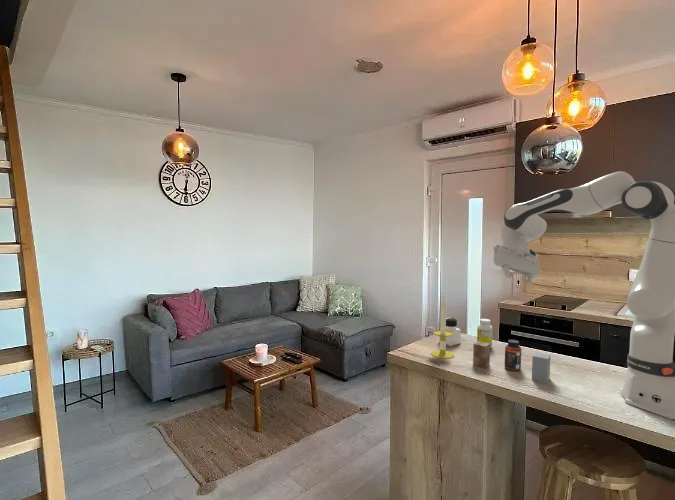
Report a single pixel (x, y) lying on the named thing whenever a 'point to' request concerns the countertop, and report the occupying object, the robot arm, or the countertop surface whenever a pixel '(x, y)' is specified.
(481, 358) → the walnut block
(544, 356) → the slate block
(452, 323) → the medicine bottle
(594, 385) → the countertop surface
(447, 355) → the candle
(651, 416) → the countertop surface
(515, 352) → the supplement bottle
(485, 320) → the supplement bottle
